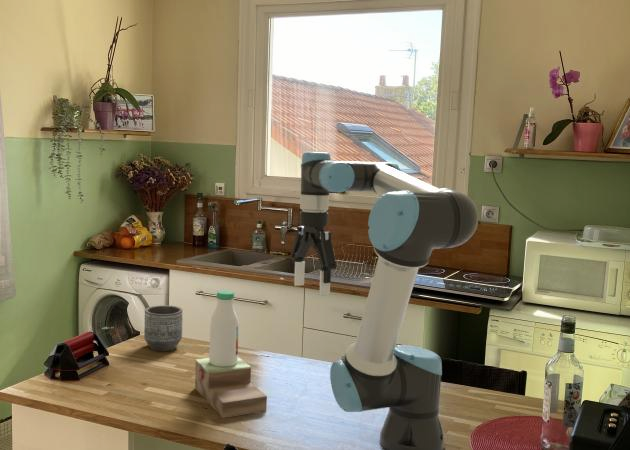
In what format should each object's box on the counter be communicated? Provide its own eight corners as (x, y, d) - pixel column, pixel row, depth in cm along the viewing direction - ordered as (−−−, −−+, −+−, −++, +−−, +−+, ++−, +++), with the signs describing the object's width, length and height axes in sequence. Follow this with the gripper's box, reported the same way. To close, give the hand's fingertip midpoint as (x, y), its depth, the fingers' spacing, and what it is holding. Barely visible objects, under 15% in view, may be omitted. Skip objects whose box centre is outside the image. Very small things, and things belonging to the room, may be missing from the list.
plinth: (268, 410, 184) (269, 379, 183) (220, 418, 178) (221, 386, 177) (237, 382, 203) (238, 354, 202) (193, 388, 197) (193, 359, 196)
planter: (187, 350, 230) (187, 312, 229) (150, 355, 224) (151, 316, 223) (174, 340, 241) (175, 303, 239) (139, 344, 235) (139, 306, 233)
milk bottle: (232, 369, 190) (234, 296, 187) (205, 365, 191) (207, 293, 189) (240, 360, 197) (243, 290, 195) (214, 357, 199) (216, 287, 196)
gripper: (352, 215, 177) (348, 298, 179) (303, 206, 198) (301, 280, 201) (326, 215, 173) (323, 300, 176) (279, 206, 195) (277, 282, 197)
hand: (311, 290), depth 188 cm, fingers open, 13 cm apart
